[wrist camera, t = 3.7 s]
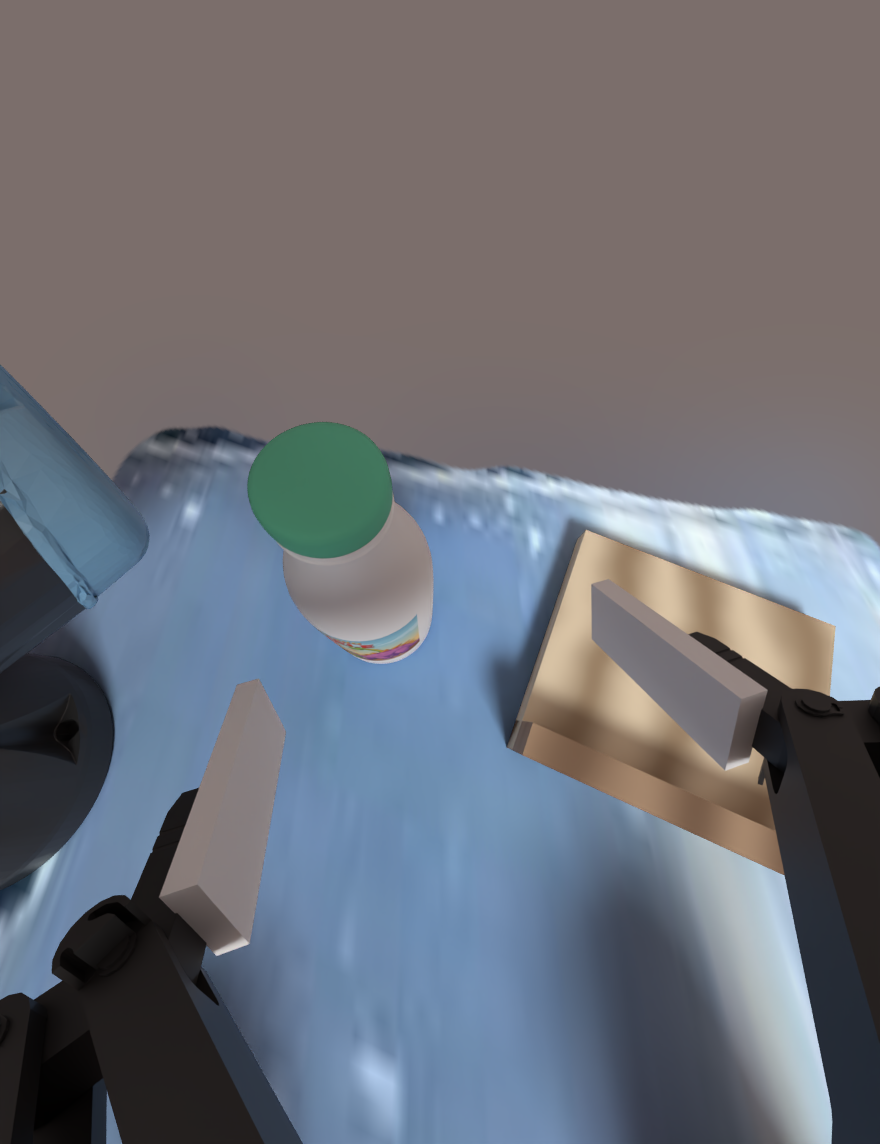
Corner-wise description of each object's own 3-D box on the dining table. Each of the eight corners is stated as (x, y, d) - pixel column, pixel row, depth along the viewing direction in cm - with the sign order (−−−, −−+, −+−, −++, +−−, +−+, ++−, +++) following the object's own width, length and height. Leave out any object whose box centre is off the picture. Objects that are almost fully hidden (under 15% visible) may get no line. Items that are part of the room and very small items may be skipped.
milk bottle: (361, 557, 33) (271, 353, 14) (446, 591, 32) (472, 423, 13) (318, 642, 30) (137, 533, 12) (408, 680, 30) (374, 633, 11)
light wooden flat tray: (506, 747, 28) (522, 755, 24) (577, 539, 34) (601, 512, 29) (785, 875, 26) (864, 912, 21) (811, 631, 32) (878, 617, 27)
